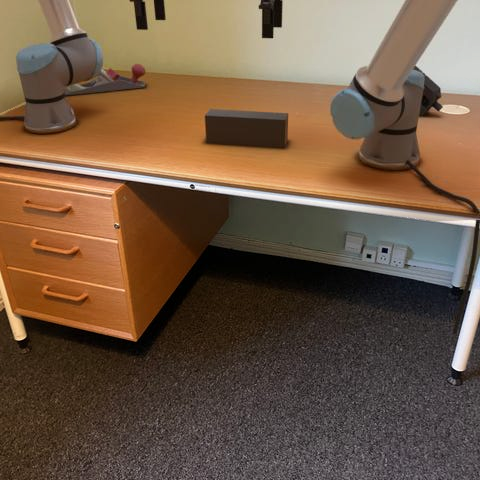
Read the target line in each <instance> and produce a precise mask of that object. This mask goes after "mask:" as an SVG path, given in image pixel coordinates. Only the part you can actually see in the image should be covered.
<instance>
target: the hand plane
mask: <svg viewBox="0 0 480 480" xmlns="http://www.w3.org/2000/svg"><path fill="white" fill-rule="evenodd" d="M131 73H132V76H131V78H130V77H126V76H123V75H120V74H119V73H117V72H116V71H114V70H113V69H112V68H111V67H109V68H108V70H107V71H105V70H104V69H103V68H102V70H101V72H100V74H99V75H98V76H97V77H95V78H92V79H90V80H89V82H86V83H80V84H79V83H76V84H73V85H69V86H66V87H64V92H65V96H74V95H84V94H94V93H104V92H112V91H113V92H114V91H121V90H132V89H142V88H146V83H145V81H143V80H139V78H142V77H144V76H145V75H146V68H145V66H143V65H141V64H139V63H134V64H133V65H132V66H131Z"/></svg>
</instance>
